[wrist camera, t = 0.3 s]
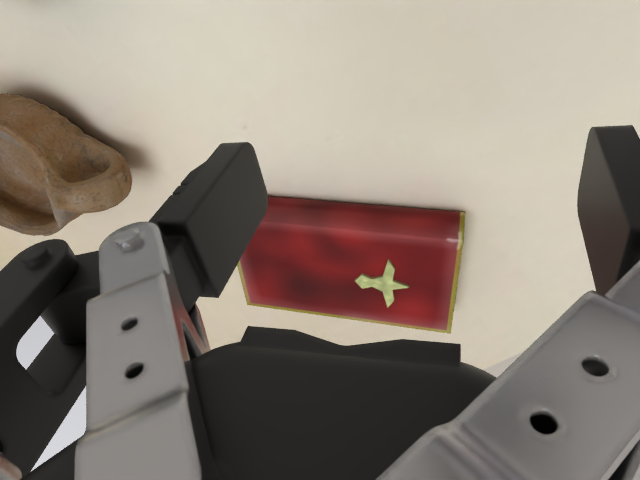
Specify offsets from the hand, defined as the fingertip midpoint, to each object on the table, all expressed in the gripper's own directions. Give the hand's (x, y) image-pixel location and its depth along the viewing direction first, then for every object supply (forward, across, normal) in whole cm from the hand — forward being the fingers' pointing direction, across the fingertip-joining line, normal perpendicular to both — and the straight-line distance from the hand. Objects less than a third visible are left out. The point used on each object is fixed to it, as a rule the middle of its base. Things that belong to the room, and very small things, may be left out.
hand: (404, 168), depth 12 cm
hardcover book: (+25, +10, +24) cm, 36 cm away
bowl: (+25, +37, +11) cm, 46 cm away
